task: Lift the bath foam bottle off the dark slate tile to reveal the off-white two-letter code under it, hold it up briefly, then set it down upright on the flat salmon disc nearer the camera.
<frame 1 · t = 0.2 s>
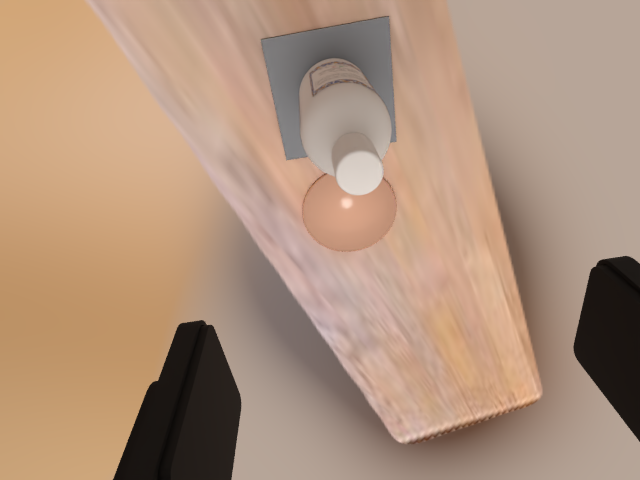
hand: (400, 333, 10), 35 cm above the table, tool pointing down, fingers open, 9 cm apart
code tile: (333, 93, 41), on the table
bath foam: (333, 93, 41), on the table, touching code tile
flat salmon disc: (349, 210, 49), on the table
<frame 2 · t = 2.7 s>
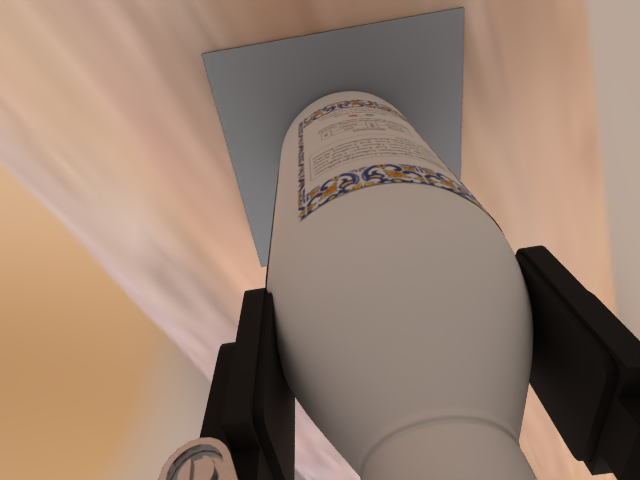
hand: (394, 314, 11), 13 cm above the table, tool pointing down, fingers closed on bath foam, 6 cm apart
code tile: (346, 155, 22), on the table
bath foam: (346, 156, 22), on the table, touching code tile, gripper
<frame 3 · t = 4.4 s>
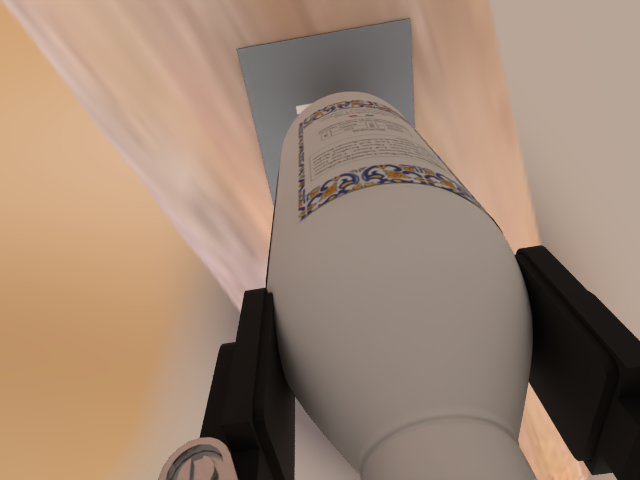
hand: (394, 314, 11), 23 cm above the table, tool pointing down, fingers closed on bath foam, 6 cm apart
code tile: (334, 120, 31), on the table
bath foam: (346, 156, 22), point 10 cm above the table, touching gripper
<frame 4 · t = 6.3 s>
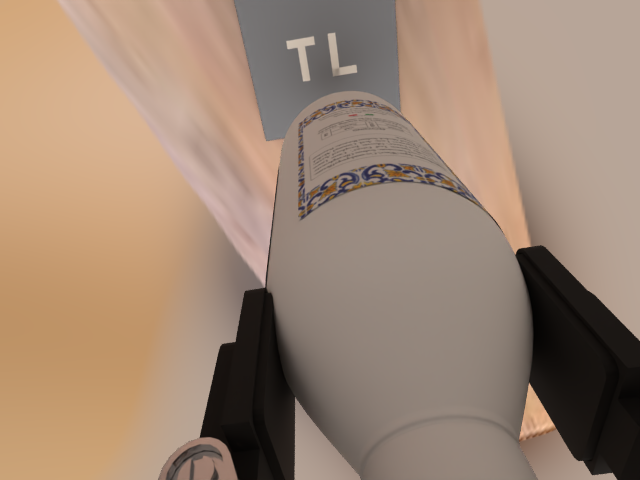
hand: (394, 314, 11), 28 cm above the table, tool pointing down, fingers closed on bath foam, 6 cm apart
code tile: (322, 56, 33), on the table
bath foam: (346, 155, 22), point 15 cm above the table, touching gripper
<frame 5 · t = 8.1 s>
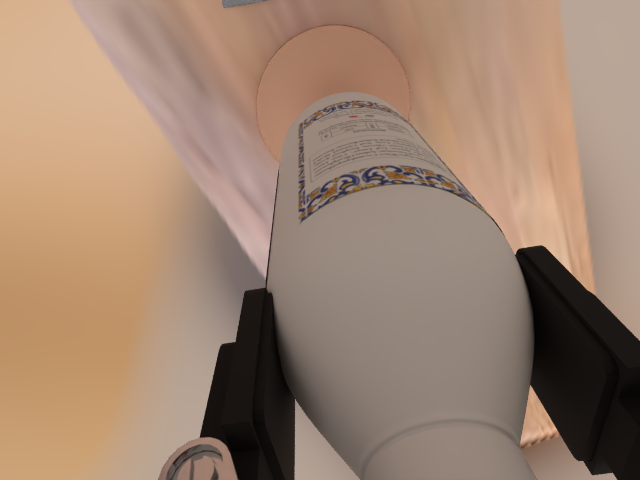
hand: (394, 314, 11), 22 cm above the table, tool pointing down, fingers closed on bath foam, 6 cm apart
bath foam: (347, 156, 22), point 10 cm above the table, touching gripper
flat salmon disc: (333, 110, 30), on the table
when the fingers open (14 cm above the table, at t = 9.9 s): bath foam drops 1 cm, resting on flat salmon disc.
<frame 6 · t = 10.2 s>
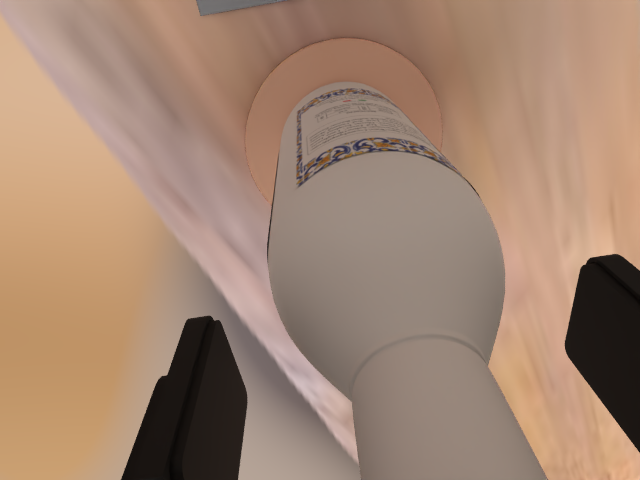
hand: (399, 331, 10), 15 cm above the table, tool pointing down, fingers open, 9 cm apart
bath foam: (342, 144, 23), resting on flat salmon disc
flat salmon disc: (343, 144, 23), on the table
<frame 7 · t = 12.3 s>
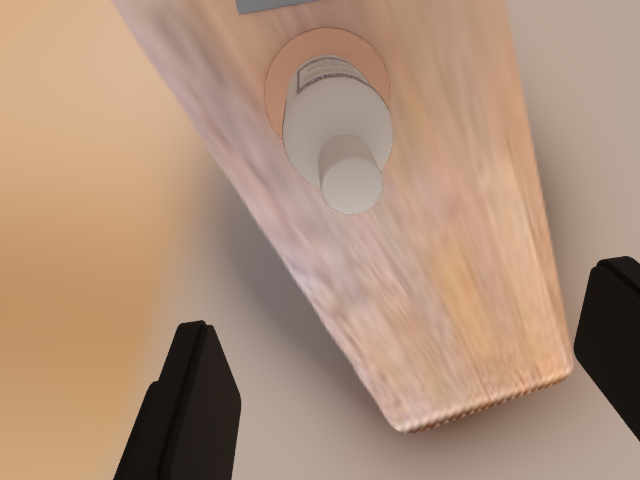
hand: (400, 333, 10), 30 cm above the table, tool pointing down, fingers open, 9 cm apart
bath foam: (326, 96, 36), resting on flat salmon disc
flat salmon disc: (327, 97, 37), on the table
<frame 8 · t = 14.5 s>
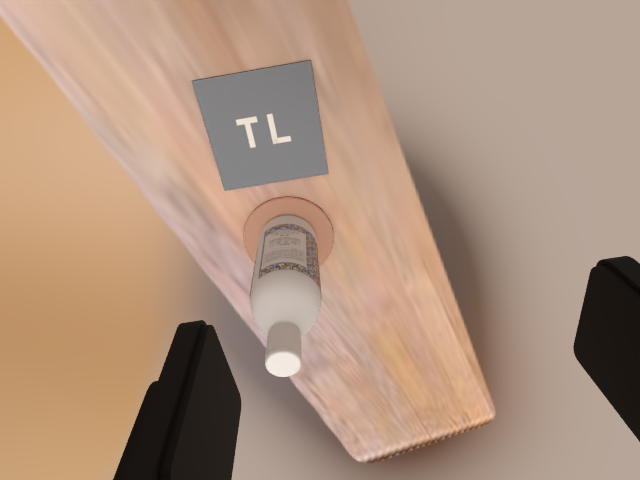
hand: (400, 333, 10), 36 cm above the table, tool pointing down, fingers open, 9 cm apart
code tile: (264, 130, 44), on the table
bath foam: (288, 237, 50), resting on flat salmon disc
flat salmon disc: (288, 237, 51), on the table
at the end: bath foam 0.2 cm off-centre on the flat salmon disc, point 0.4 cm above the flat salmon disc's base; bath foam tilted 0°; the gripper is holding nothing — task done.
